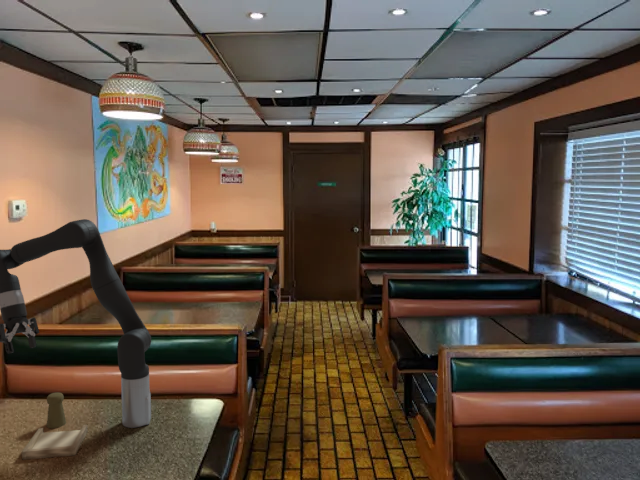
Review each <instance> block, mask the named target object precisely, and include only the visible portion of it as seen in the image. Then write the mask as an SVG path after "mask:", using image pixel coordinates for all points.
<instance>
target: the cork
mask: <svg viewBox="0 0 640 480" xmlns="http://www.w3.org/2000/svg"><path fill="white" fill-rule="evenodd" d="M64 399H65V397H64V394H63V393H62V392H52V393H50V394H48V396H47V397H46V402H47V404H48V409H47V416H46V417H47V418H46V419H47V420H46V427H47V428H48V429H57V428H61V427H63V426H65V425H66V423H67V421H66V416H65V415H66V414H65V410H64V405H63V402H64Z"/></svg>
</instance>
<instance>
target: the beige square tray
mask: <svg viewBox="0 0 640 480" xmlns="http://www.w3.org/2000/svg"><path fill="white" fill-rule="evenodd" d="M88 428H89V427H88V424H83V425H82V427H81V429H76V430H63V431H51V432H44V427H38V429H37V430H36V431H35V433H34V435H32V437H31V439H30V440H29V442H28V443H27V444H26V445H25V446H24V448H23V449H22V450H21V460H22V461H24V460H25V461H26V460H35V459H47V458H59V457H70V456H76V455H77V453H78V451H79V449H80V447H81V445H82V443H83V441H84V440H85V437H86V436H87V434H88V432H89V429H88Z"/></svg>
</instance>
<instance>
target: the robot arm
mask: <svg viewBox="0 0 640 480" xmlns="http://www.w3.org/2000/svg"><path fill="white" fill-rule="evenodd" d="M100 233H101V232H100V231H99V228H98V227H97V225H96V224H95V223H94V222H93V221H92V220H90V219H84V218H83V219H78V220H73V221H69V222H68V223H67V222H66V224H64V225H61V226H60V227H58V228H57V229H54V230H52V231H51V232H49V233H46V234H44V235H42V236H38V237H33V238H31V239H28V240H25V241H21V242H18V243H16V244H14V245H13V246H12V247H11V248H9V249H0V315H1V320H2V321H3V323H0V343H3V344H4V349H5V351H6V353H7V354H8V355H9V354H10V355H11V354H12V353H14V352H15V350H14V345H13V341H12V339H13V338H14V336H15V335H16V334H23V335H25V336H26V337H27V343H28V346H29V349H34V348H36V346H37V341H36V335H38V334H40V330H39V326H38V322H37V318H36V317H31V318H27V315H28V312H27V307H26V302H25V298H24V295H23V292H22V288H21V284H20V279H19V277H18V276H17V275H15V274H12V273H10V272H9V270H11V269H15V268H18V267H20V266H21V265H23V264H25V263H28V262H31V261H33V260H36V259H37V260H38V259H40V258H42V257H44V256H47V255H48V254H51V253H55V252H56V251H62V250H68V249H69V250H71V249H79V248H82V250H83V251H84V254H85V255H86V258H87V259H88V263H89V277H90V278H89V279H90V284H91V285H90V286H91V288H92V291H93V293H94V294H95V296H96V298H97V300H98V302H99V304H101V306H102V308H104V309H105V310H106V311H107V312H108V313H109V314H110V315H111V316H113V317H114V318H115V319H116V320H117V322H118V324H119V326H120V328H121V331H122V333H123V334H122V335H121V337H120V338H119V339H118V341H117V364H118V370H119V372H120V379H121V381H120V383H121V413H122V414H121V415H122V416H121V421H122V425H123V427H125V428H129V429H130V428H132V429H133V428H140V427H143V426H147V425H150V423H151V419H152V402H151V401H152V399H151V398H152V397H151V396H152V393H151V391H150V366H149V365H148V364H146V358H145V357H146V355H145V352H147V351H148V350H149V348H150V347H151V344H152V336H151V334H150V332H149V330H148V329H147V326H146V325H145V324H144V322H143V321H142V319H141V318H140V316H139V315H138V313H137V311H136V309H135V307H134V305H133V303H132V301H131V299H130V297H129V295H128V293H127V290H126V288H125V286H124V285H123V282H122V280H121V279H120V277H119V274H118V273H117V271H116V269H115V267H114V264H113V263H112V261H111V258H110V256H109V253H108V252H107V250H106V249H107V248H106V247H105V244H104V241H103V238H102V236H101V234H100Z"/></svg>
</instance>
